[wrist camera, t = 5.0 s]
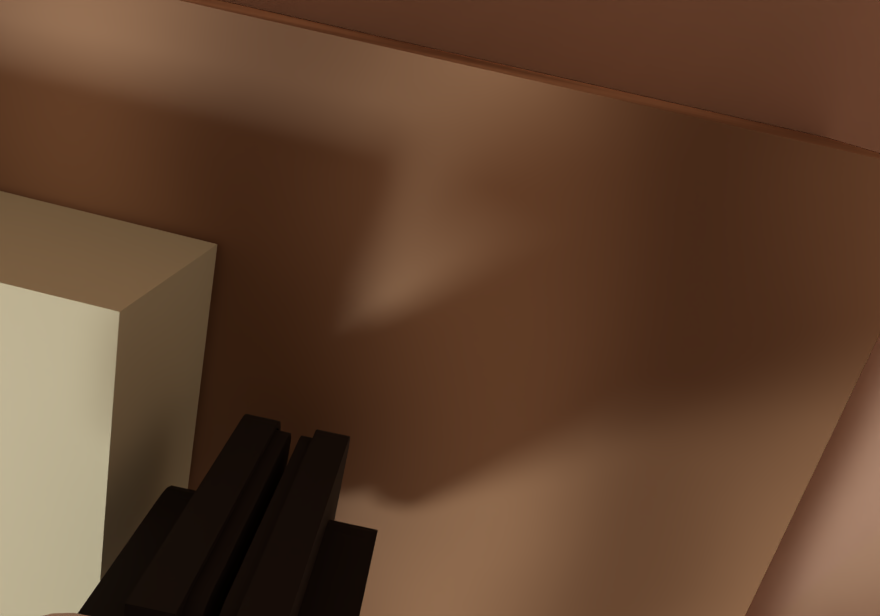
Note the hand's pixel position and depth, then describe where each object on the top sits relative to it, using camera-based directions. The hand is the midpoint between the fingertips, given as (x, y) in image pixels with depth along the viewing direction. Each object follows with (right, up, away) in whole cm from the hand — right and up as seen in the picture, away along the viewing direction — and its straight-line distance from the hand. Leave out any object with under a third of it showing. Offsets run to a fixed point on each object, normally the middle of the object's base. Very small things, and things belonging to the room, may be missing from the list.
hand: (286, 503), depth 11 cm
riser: (0, +2, +5) cm, 5 cm away
